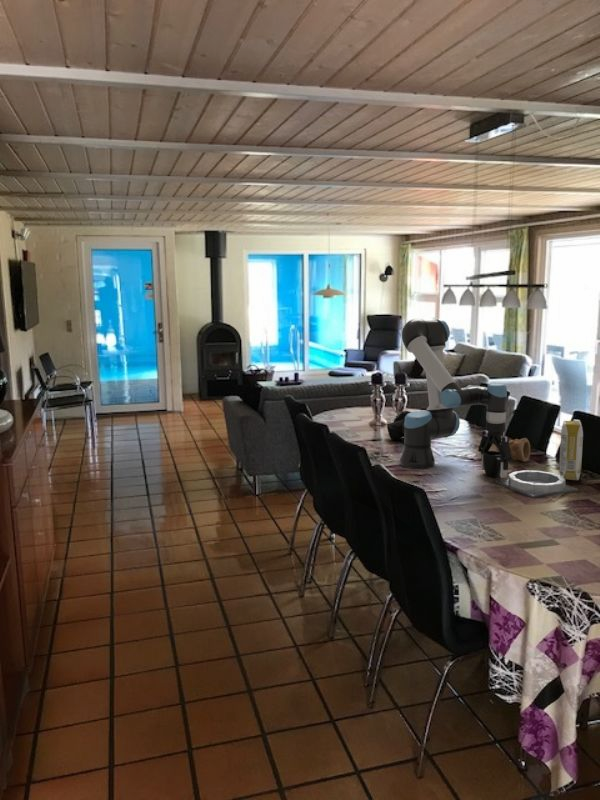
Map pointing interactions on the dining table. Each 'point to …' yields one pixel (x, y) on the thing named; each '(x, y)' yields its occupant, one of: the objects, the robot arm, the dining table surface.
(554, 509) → the dining table surface
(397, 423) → the valve
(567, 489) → the duct collar
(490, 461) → the mug
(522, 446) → the clay pipe
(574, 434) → the juice carton
